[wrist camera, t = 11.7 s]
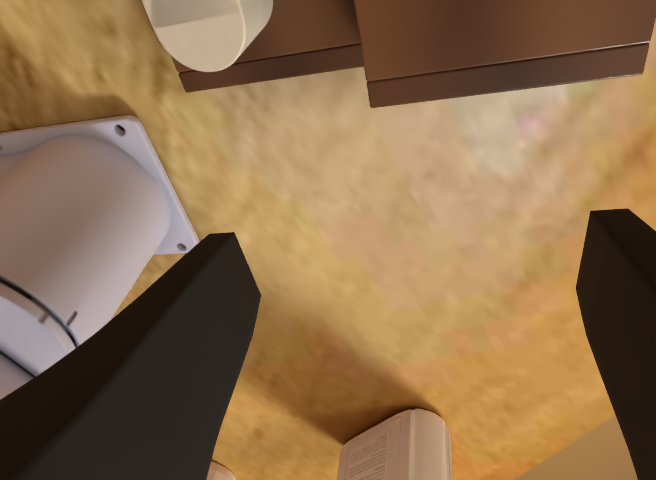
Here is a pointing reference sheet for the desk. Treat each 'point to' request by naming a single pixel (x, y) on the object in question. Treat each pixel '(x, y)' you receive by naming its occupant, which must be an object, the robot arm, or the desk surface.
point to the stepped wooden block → (443, 45)
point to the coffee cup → (219, 472)
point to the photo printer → (399, 450)
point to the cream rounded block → (207, 29)
